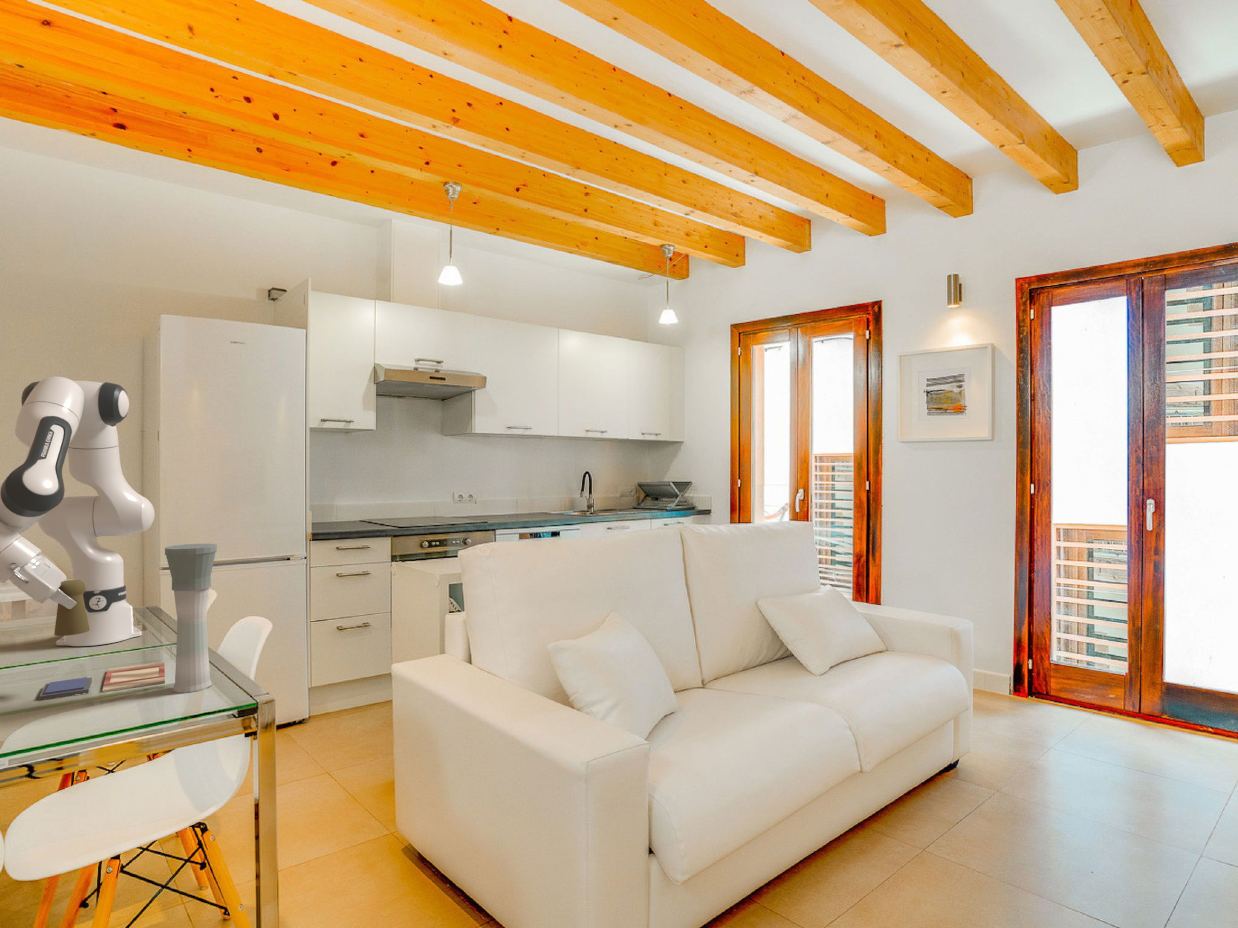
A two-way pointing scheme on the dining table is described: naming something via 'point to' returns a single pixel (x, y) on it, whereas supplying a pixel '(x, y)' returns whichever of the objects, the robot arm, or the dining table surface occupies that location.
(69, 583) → the brown tapered round-topped piece
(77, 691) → the ink pad
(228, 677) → the dining table surface
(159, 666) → the marked board
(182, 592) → the container
